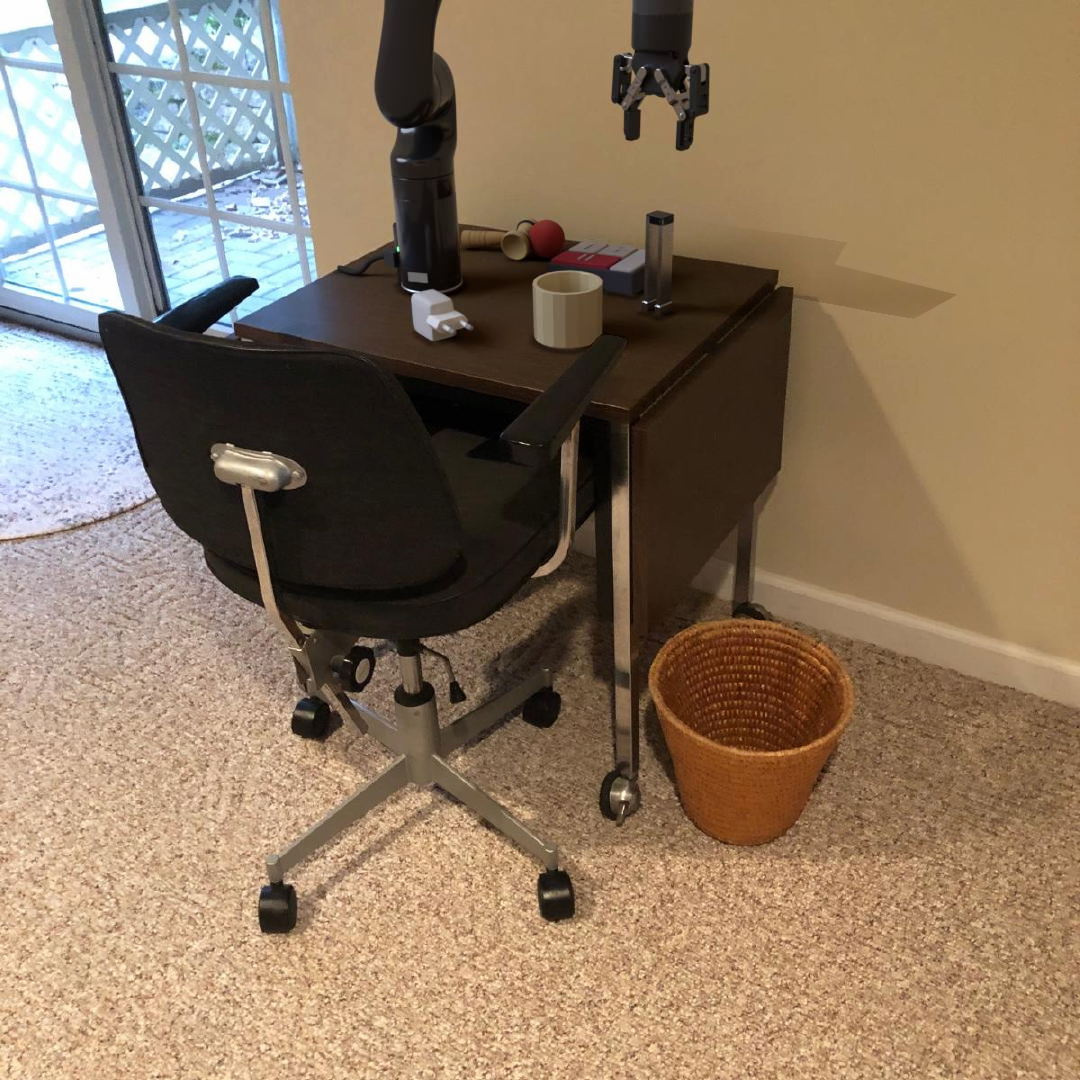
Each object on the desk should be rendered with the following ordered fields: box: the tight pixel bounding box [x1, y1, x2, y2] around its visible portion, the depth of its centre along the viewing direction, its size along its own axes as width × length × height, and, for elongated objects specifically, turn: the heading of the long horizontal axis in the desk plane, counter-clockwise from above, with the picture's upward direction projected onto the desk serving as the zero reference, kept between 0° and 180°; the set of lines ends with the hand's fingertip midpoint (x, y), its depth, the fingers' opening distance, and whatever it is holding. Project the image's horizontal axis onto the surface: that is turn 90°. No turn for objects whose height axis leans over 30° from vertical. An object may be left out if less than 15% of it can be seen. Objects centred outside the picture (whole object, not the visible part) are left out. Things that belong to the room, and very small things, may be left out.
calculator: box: [546, 241, 645, 296], centre depth 164 cm, size 11×4×15 cm
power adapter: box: [410, 289, 474, 342], centre depth 145 cm, size 11×5×6 cm, turn 34°
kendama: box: [460, 217, 566, 261], centre depth 176 cm, size 8×6×18 cm
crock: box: [532, 270, 604, 349], centre depth 144 cm, size 9×9×8 cm
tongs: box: [641, 209, 675, 317], centre depth 149 cm, size 3×3×14 cm
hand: (657, 144), depth 140 cm, fingers open, 8 cm apart
